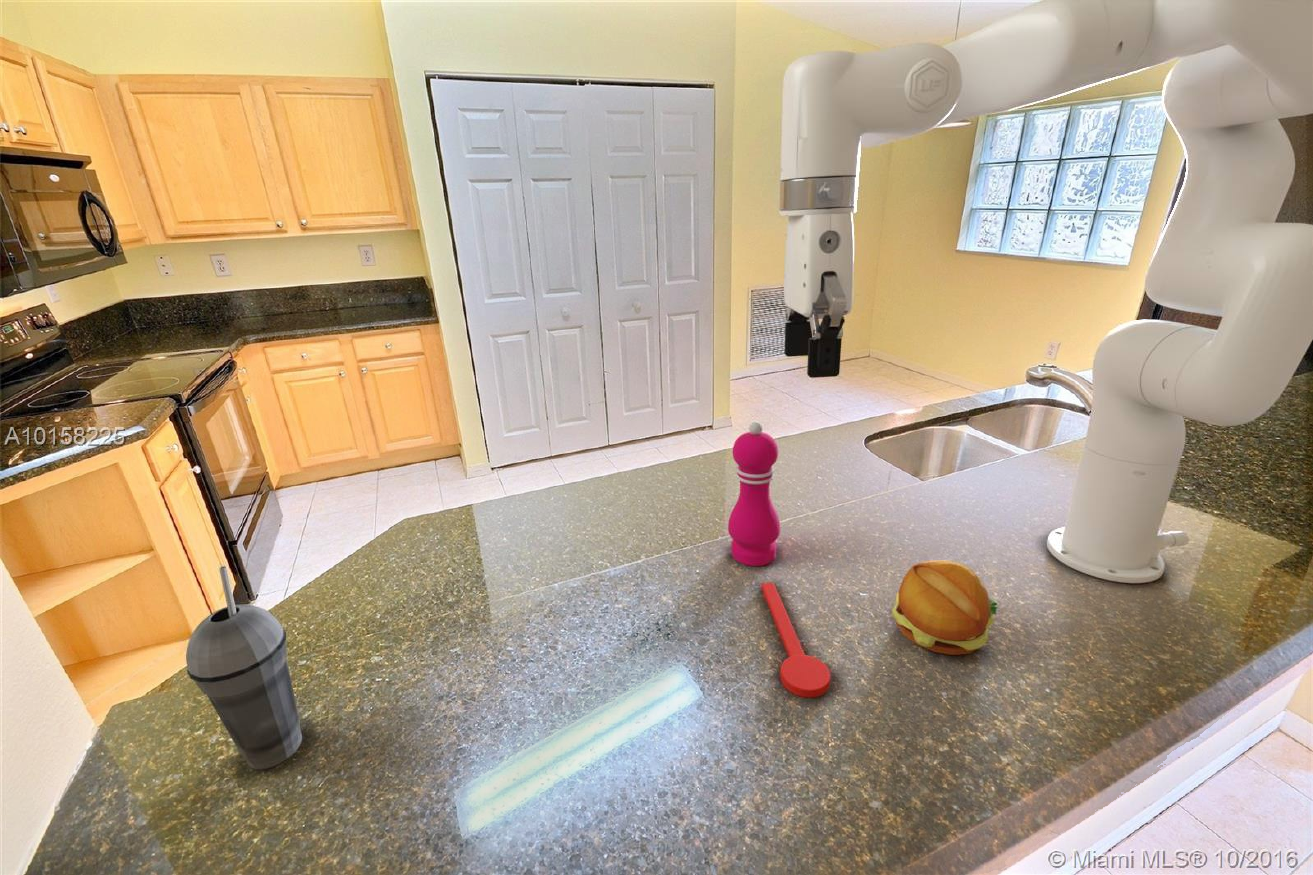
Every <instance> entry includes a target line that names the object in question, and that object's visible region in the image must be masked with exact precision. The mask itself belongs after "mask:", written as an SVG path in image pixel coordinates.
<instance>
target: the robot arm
mask: <svg viewBox="0 0 1313 875" xmlns="http://www.w3.org/2000/svg"><path fill="white" fill-rule="evenodd" d="M1178 59H1179V60H1178ZM1175 60H1178V61H1177V62H1176V63H1175V64H1174V65H1172V67H1171V69H1170V70H1169V72H1168V74H1167V76H1166V77H1165V78H1166V79H1165V81H1164V83H1163V89H1162V97H1161V100H1162V106H1163V111H1164V113H1165V115H1166V117H1167V119H1168V121H1169V123H1170V124H1171V126H1172V127H1173V129H1174V130H1175V132H1176V134H1177V135H1178V138H1179V140H1180V142H1181V144H1182V147H1183V150H1184V155H1185V159H1186V172H1185V177H1184V181H1183V184H1182V187H1181V189H1180V192H1179V195H1178V198H1177V201H1176V203H1175V205H1174V208H1173V210H1172V212H1171V214H1170V216H1169V218H1168V221H1167V224H1166V226H1165V228H1164V230H1163V232H1162V235H1161V237H1160V240H1159V242H1158V244H1157V247H1156V248H1155V250H1154V253H1153V255H1152V258H1151V261H1150V263H1149V266H1148V268H1147V271H1146V275H1145V279H1144V291H1145V293H1146V296H1147V297H1148V298H1149V299H1150V300H1151V301H1152V302H1154V303H1156V304H1158V305H1160V306H1162V307H1165V308H1169V309H1174V310H1178V311H1183V312H1188V313H1189V312H1190V313H1196V314H1202V315H1209V316H1214V317H1220V318H1221V320H1220V322H1219V325H1218V327H1217V329H1213V328H1208V327H1204V326H1199V325H1193V324H1190V323H1189V324H1188V323H1182V322H1177V321H1170V320H1163V319H1139V320H1134V321H1130V322H1127V323H1124V324H1122V325H1119V326H1118V327H1116V328H1114V329H1112V330H1110V331H1109V333H1107V335H1105V336H1104V337H1103V339H1101V342H1100V343H1099V345H1098V346H1097V348H1096V350H1095V353H1094V356H1093V360H1092V367H1091V368H1092V369H1091V370H1092V373H1091V377H1092V379H1091V383H1092V384H1091V385H1092V400H1091V409H1090V410H1091V411H1090V416H1089V420H1088V421H1089V422H1088V425H1087V431H1086V435H1085V439H1084V443H1083V446H1082V451H1081V455H1080V460H1079V463H1078V468H1077V472H1076V476H1075V481H1074V484H1073V490H1072V493H1071V498H1070V502H1069V506H1068V510H1067V514H1066V519H1065V523H1064V526H1063V527H1061V528H1057V529H1054V530H1052V531H1051V532H1050V533H1049V534H1048V536H1047V540H1046V548H1047V550H1048V551H1049V552H1050V553H1051V555H1052V556H1053V557H1054V558H1055V559H1057V560H1058V561H1059V562H1060V563H1062V564H1064V565H1065V566H1067V567H1068V568H1071V569H1073V570H1075V571H1078V572H1080V573H1083V574H1085V575H1087V576H1090V577H1094V578H1098V579H1100V580H1105V581H1110V582H1117V583H1124V584H1125V583H1126V584H1145V583H1151V582H1154V581H1156V580H1158V579H1160V578H1161V577H1162V575H1163V573H1164V572H1165V567H1166V564H1165V561H1164V559H1163V558H1162V557H1161V555H1160V554H1159V553H1160V550H1161V551H1162V550H1164V549H1166V548H1167V547H1169V548H1170V547H1171V548H1172V547H1183V546H1187V545H1188V544H1189V540H1190V539H1189V536H1188V535H1187V533H1185V532H1184V531H1181V530H1176V531H1175V530H1174V531H1166V532H1162V529H1161V525H1162V522H1163V518H1164V515H1165V512H1166V509H1167V505H1168V502H1169V498H1170V495H1171V492H1172V489H1173V485H1174V482H1175V479H1176V476H1177V472H1178V469H1179V465H1180V461H1181V460H1182V456H1183V454H1184V449H1185V445H1186V439H1187V438H1186V437H1187V436H1186V434H1187V433H1186V432H1187V431H1186V424H1185V418H1188V419H1191V420H1193V421H1197V422H1201V423H1204V424H1207V425H1212V426H1217V427H1236V426H1241V425H1245V424H1248V423H1250V422H1252V421H1255V420H1256V419H1258V418H1259V417H1261V416H1262V415H1264V414H1265V413H1266V412H1267V411H1268V410H1269V409H1270V408H1272V407H1273V405H1274V404H1275V403H1276V402H1277V400H1279V398H1280V397H1281V395H1283V392H1284V391H1285V389H1286V388H1287V386H1288V384H1289V383H1290V381H1291V380H1292V377H1293V376H1294V374H1295V372H1296V371H1297V368H1298V367H1299V365H1300V363H1301V362H1302V360H1303V358H1304V356H1305V355H1306V353H1307V351H1308V349H1309V347H1310V346H1311V344H1312V342H1313V224H1310V223H1304V222H1302V223H1301V222H1276V221H1277V218H1278V215H1279V213H1280V210H1281V209H1282V205H1283V203H1284V201H1285V199H1286V197H1287V194H1288V192H1289V189H1290V187H1291V185H1292V182H1293V179H1294V176H1295V171H1296V158H1295V152H1294V149H1293V146H1292V143H1291V140H1290V139H1289V136H1288V135H1287V133H1286V130H1285V129H1284V127H1283V126H1282V124H1281V122H1280V120H1281V119H1287V118H1294V117H1301V116H1307V115H1311V114H1312V115H1313V0H1039V1H1038V2H1034V3H1031V4H1030V5H1027V6H1025V7H1023V8H1020V9H1019V10H1018V9H1017V10H1015V11H1014V12H1011V13H1009V14H1008V15H1005V16H1003V17H1002V18H1000V19H997V20H995V21H993V22H992V23H990V24H988V25H986V26H984V27H981V28H980V29H978V30H976V31H974V32H972V33H970V34H967V35H965V36H963V37H961V38H958V39H956V40H953V41H952V42H949V43H946V44H944V45H938V44H935V43H929V42H916V43H909V44H904V45H900V46H895V47H890V48H885V49H879V50H873V51H867V52H861V53H855V52H852V51H845V50H829V51H828V50H827V51H821V52H814V53H810V54H807V55H803V56H801V57H799V58H797V59H795V60H793V61H792V62H791V63H790V64H789V65H788V66H787V68H786V70H785V73H784V74H783V80H782V98H781V99H782V103H781V104H782V106H781V107H782V108H781V137H780V138H781V143H780V144H781V145H780V146H781V147H780V173H779V174H780V176H779V180H780V183H779V211H778V212H779V213H778V214H779V217H787V227H786V234H785V237H786V239H785V250H784V251H785V252H784V267H783V268H784V270H783V299H784V303H785V305H786V307H787V308H786V312H785V321H786V322H784V324H785V325H784V349H783V350H784V355H785V356H786V357H789V358H790V357H791V358H792V357H806V356H807V368H806V370H807V371H806V374H807V376H808V377H809V378H812V379H815V378H817V379H818V378H833V377H834V378H835V377H838V376H839V375H840V372H841V371H840V370H841V354H842V353H841V351H842V339H843V336H844V328H843V326H844V324H845V322H846V319H845V316H847V315H849V314H850V313H851V312H852V310H853V303H854V302H853V301H854V273H855V272H854V271H855V270H854V269H855V235H854V221H853V220H854V219H853V214H855V213H856V212H857V200H858V199H857V198H858V187H859V174H860V173H859V172H860V161H861V160H860V159H861V158H860V157H861V148H876V147H880V146H884V145H886V144H891V143H893V142H898V141H902V140H906V139H910V138H914V137H917V136H920V135H922V134H925V133H927V132H929V131H931V130H932V129H935V128H936V129H937V128H938V127H942V126H946V125H949V124H952V123H956V122H959V121H963V120H967V119H968V120H969V119H971V118H976V117H982V116H985V115H991V114H997V113H1001V112H1008V111H1011V110H1016V109H1019V108H1023V107H1026V106H1030V105H1033V104H1037V103H1041V102H1044V101H1048V100H1051V99H1054V98H1057V97H1061V96H1064V95H1067V94H1070V93H1073V92H1076V91H1079V90H1082V89H1086V88H1089V87H1092V86H1095V85H1098V84H1102V83H1105V82H1108V81H1111V80H1114V79H1115V80H1116V79H1118V78H1121V77H1125V76H1128V75H1131V74H1133V73H1134V74H1135V73H1138V72H1140V71H1144V70H1147V69H1151V68H1153V67H1157V66H1159V65H1163V64H1166V63H1169V62H1173V61H1175ZM1279 119H1280V120H1279ZM820 320H821V322H820ZM1184 417H1185V418H1184Z"/></svg>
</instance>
